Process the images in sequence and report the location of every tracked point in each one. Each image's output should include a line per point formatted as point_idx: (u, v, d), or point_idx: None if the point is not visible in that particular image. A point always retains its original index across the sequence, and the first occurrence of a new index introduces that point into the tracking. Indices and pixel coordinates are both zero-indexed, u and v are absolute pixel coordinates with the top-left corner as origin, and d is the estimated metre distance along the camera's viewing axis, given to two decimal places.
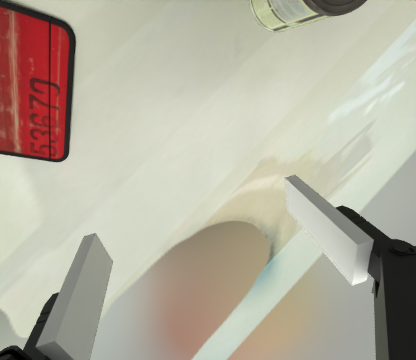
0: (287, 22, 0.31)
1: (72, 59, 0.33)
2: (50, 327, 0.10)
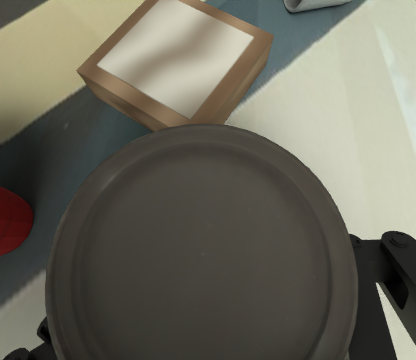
0: None
1: None
2: None
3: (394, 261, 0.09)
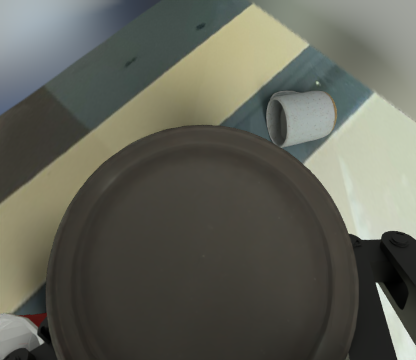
0: None
1: None
2: None
3: (394, 261, 0.09)
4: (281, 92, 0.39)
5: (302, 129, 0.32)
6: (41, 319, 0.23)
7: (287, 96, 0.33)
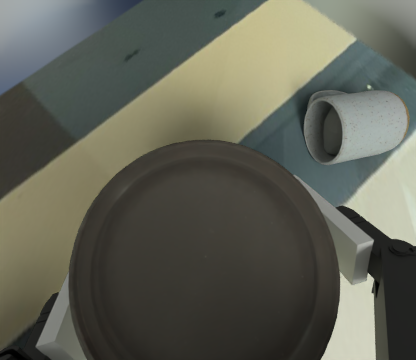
0: None
1: None
2: (50, 327, 0.10)
3: None
4: (322, 92, 0.31)
5: (362, 142, 0.23)
6: None
7: (341, 96, 0.24)
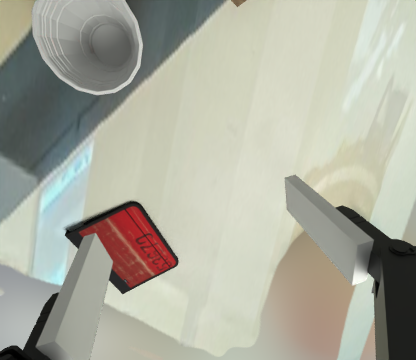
0: None
1: (147, 216, 0.48)
2: (50, 327, 0.10)
3: None
4: None
5: None
6: None
7: None
